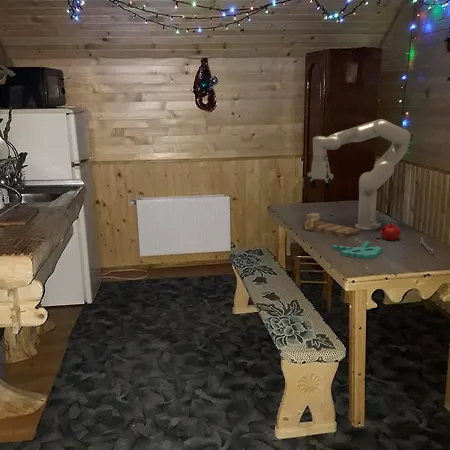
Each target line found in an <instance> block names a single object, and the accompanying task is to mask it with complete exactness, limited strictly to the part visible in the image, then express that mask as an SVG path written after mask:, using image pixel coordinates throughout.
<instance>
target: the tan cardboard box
mask: <svg viewBox="0 0 450 450" xmlns="http://www.w3.org/2000/svg"><path fill="white" fill-rule="evenodd" d="M306 216H307V217H306V221H305V222H304V224H305V230H308V231H312V230H314V226H315V225H318V224H319V221H320V218H321V216H320V213H317V212H311V213H308V214H307V215H306Z"/></svg>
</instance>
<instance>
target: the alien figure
mask: <svg viewBox="0 0 450 450" xmlns="http://www.w3.org/2000/svg"><path fill="white" fill-rule="evenodd" d="M331 249H332V250H333V251H339V250H340V255H341V256H343V257H345V258H346V256H347V257H350V258H351V257H352V258H356V257H357V259H363V258H364V260H371V258H372V259H377V257H380V255H381V254H382V253H383V251H384V249H383V248H382V247H380V246H378V245H376V246H371V242H370V241H364V243H362V244H361V245H360V246H355V247H350V246H343V245H340V246H339V245H336V244H334V245H332V246H331Z"/></svg>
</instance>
